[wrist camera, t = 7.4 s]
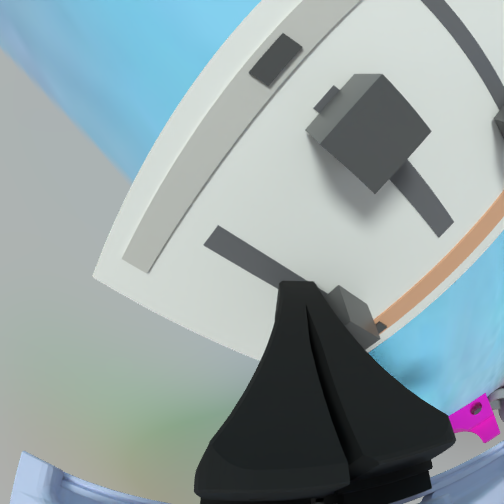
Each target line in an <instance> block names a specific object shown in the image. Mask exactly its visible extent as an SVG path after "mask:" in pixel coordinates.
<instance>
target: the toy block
mask: <svg viewBox="0 0 504 504" xmlns="http://www.w3.org/2000/svg"><path fill="white" fill-rule="evenodd" d="M478 408H482V409H481V411H480V412H479V413H478V414H476V415H474V413H475V411H476V410H477V409H478ZM448 417H449V419H450V422H451V425H452V428H453V431H454V433H457V432H463V431H468V432H473V433H475V434H477V435H478V436H479V437H480V438H481V439H482V441H483V442H484V443H486V442H488V441H490V440H491V439H493V438H494V437H496V436H497V435H499V434H500V431H499V428H498V425H497V422H496V419H495V417H494V414H493V411H492V408H491V406H490V403H489V401H488V398H487V396H486V393H484V394H483V395H482V396H480V397H479V398H477V399H476V400H474V401H473V402H471V403H470V404H468V405H466V406H465V407H463V408H462V409H460V410H458V411H457V412H455V413H453V414H452V415H450V416H448Z"/></svg>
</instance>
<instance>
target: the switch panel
mask: <svg viewBox="0 0 504 504" xmlns="http://www.w3.org/2000/svg"><path fill="white" fill-rule="evenodd" d="M354 74H383V75H384V76H385V77H386V78H387V79H388V80H389V81H390V82H391V83H392V84H393V86H394V87H395V88H396V89H397V90H398V91H399V92H400V93H401V94H402V95H403V97H404V98H405V99H406V100H407V101H408V102H409V104H410V105H411V106H412V107H413V108H414V109H415V111H416V112H417V113H418V114H419V116H420V117H421V118H422V119H423V121H424V122H425V123H426V124H427V126H428V127H429V128H430V130H431V131H432V132H431V133H430V134H429V135H428V136H427V137H426V139H425V140H424V141H423V142H422V143H421V144H420V145H419V147H418V148H417V149H416V150H415V151H414V152H413V153H412V154H411V156H410V157H409V158H408V159H407V160H406V161H405V162H404V163H403V165H402V166H401V167H400V168H399V169H398V170H397V171H396V172H395V173H394V174H393V176H392V177H391V178H390V179H389V180H388V181H387V182H386V183H385V184H384V185H383V186H382V187H381V188H380V190H379V191H378V192H377V193H376V194H374V193H373V192H372V191H371V190H370V189H369V188H368V187H367V186H366V185H365V184H364V183H363V182H361V181H360V180H359V179H358V178H357V177H356V176H355V175H354V174H353V173H352V172H351V171H350V170H349V169H347V168H346V167H345V166H344V165H343V164H342V163H341V162H340V161H338V160H337V159H336V158H335V157H334V156H333V155H332V154H330V153H329V152H328V151H327V150H326V149H325V148H323V147H322V146H321V145H320V144H319V143H318V142H317V141H316V140H315V139H314V138H313V137H312V136H311V135H310V134H309V133H307V132H306V131H305V129H306V128H307V127H308V126H309V125H310V124H311V122H312V121H313V120H314V119H315V118H316V117H317V115H318V114H319V113H320V112H321V111H322V110H323V109H324V107H325V106H326V105H327V104H328V103H329V102H330V101H331V100H332V98H333V97H334V96H335V95H336V94H337V93H338V92H339V91H340V89H341V88H342V87H343V86H344V85H345V84H346V83H347V82H348V81H349V79H350V78H351V77H352V76H353V75H354ZM503 105H504V0H262V1H261V2H260V3H259V4H258V5H257V6H256V7H255V8H254V9H253V10H252V11H251V12H250V13H249V15H248V16H247V17H246V18H245V19H244V20H243V21H242V22H241V23H240V25H239V26H238V27H237V28H236V29H235V30H234V31H233V33H232V34H231V35H230V36H229V37H228V39H227V40H226V41H225V42H224V43H223V45H222V46H221V47H220V48H219V50H218V51H217V52H216V53H215V55H214V56H213V57H212V59H211V60H210V61H209V62H208V64H207V65H206V66H205V68H204V69H203V70H202V72H201V73H200V75H199V76H198V77H197V79H196V80H195V81H194V83H193V84H192V86H191V87H190V89H189V90H188V91H187V93H186V94H185V96H184V97H183V99H182V100H181V102H180V103H179V105H178V106H177V108H176V109H175V111H174V112H173V114H172V116H171V117H170V119H169V120H168V122H167V124H166V125H165V127H164V128H163V130H162V132H161V133H160V135H159V137H158V138H157V140H156V142H155V144H154V145H153V147H152V149H151V150H150V152H149V154H148V156H147V158H146V159H145V161H144V163H143V165H142V167H141V169H140V170H139V172H138V174H137V176H136V178H135V180H134V182H133V184H132V186H131V188H130V190H129V192H128V194H127V196H126V198H125V200H124V202H123V205H122V206H121V209H120V211H119V213H118V215H117V217H116V219H115V222H114V224H113V226H112V228H111V231H110V233H109V235H108V238H107V240H106V243H105V245H104V247H103V250H102V252H101V255H100V258H99V260H98V263H97V265H96V268H95V271H94V273H93V276H92V277H93V278H95V279H96V280H98V281H100V282H101V283H103V284H105V285H106V286H108V287H110V288H112V289H113V290H115V291H117V292H118V293H120V294H122V295H124V296H125V297H127V298H129V299H131V300H133V301H135V302H136V303H138V304H140V305H142V306H144V307H145V308H147V309H149V310H151V311H153V312H155V313H157V314H159V315H161V316H162V317H165V318H166V319H168V320H170V321H172V322H175V323H176V324H178V325H180V326H182V327H185V328H186V329H188V330H191V331H193V332H195V333H197V334H199V335H201V336H203V337H205V338H207V339H210V340H212V341H214V342H216V343H218V344H221V345H223V346H225V347H227V348H230V349H232V350H234V351H237V352H239V353H241V354H244V355H246V356H248V357H251V358H253V359H256V360H258V361H260V360H261V358H262V356H263V353H264V351H265V349H266V346H267V344H268V341H269V338H270V335H271V332H272V329H273V326H274V322H275V311H276V304H277V295H278V287H279V283H280V282H281V281H314V282H315V284H316V285H317V287H318V288H319V290H320V291H321V293H322V294H323V296H324V297H325V296H326V295H327V294H329V293H330V292H331V291H332V290H333V289H334V288H335V287H336V286H338V285H340V286H341V287H343V288H344V289H346V290H347V291H348V292H350V293H351V294H353V295H354V296H356V297H357V298H359V299H360V300H362V301H363V302H365V303H366V304H367V305H368V307H369V310H370V312H371V315H372V317H373V320H374V323H375V325H376V328H377V331H378V333H379V336H380V340H378V341H377V342H376V343H374V344H373V345H371V346H370V347H369V348H367V349H366V351H367V353H368V352H370V351H371V350H373V349H374V348H375V347H377V346H378V345H379V344H381V343H382V342H384V341H385V340H386V339H388V338H389V337H390V336H392V335H393V334H394V333H396V332H397V331H398V330H399V329H401V328H402V327H403V326H405V325H406V324H407V323H408V322H410V321H411V320H412V319H413V318H414V317H416V316H417V315H418V314H419V313H421V312H422V311H423V310H424V309H425V308H426V307H428V306H429V305H430V304H431V303H432V302H433V301H434V300H436V299H437V298H438V297H439V296H440V295H441V294H442V293H443V292H444V291H446V290H447V289H448V288H449V287H450V286H451V285H452V284H453V283H454V282H455V281H456V280H457V279H458V278H459V277H460V276H461V275H462V274H463V273H464V272H465V271H466V270H467V269H468V268H469V267H470V266H471V265H472V264H473V263H474V262H475V261H476V260H477V259H478V258H479V257H480V256H481V255H482V254H483V253H484V252H485V251H486V249H487V248H488V247H489V246H490V245H491V244H492V243H493V242H494V240H495V239H496V238H497V237H498V236H499V235H500V233H501V232H502V231H503V230H504V139H503V137H502V134H501V132H500V130H499V128H498V126H497V124H496V122H495V120H494V117H495V116H496V114H497V113H498V112H499V110H500V109H501V107H502V106H503Z"/></svg>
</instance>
